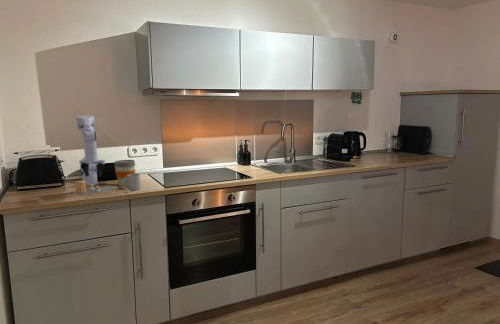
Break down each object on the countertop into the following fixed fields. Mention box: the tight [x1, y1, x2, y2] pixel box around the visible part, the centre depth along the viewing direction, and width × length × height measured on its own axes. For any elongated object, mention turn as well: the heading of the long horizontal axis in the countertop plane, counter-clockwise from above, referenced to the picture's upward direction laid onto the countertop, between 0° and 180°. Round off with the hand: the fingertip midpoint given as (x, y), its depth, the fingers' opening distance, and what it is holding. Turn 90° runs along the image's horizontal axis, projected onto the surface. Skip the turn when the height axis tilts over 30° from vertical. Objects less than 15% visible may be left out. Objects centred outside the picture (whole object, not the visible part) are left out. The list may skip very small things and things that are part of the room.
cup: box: [122, 173, 142, 192], centre depth 219 cm, size 7×10×9 cm
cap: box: [74, 180, 87, 193], centre depth 209 cm, size 5×5×6 cm
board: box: [71, 184, 119, 197], centre depth 213 cm, size 14×22×4 cm, turn 137°
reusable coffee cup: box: [114, 159, 136, 187], centre depth 233 cm, size 13×13×15 cm
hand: (93, 176), depth 209 cm, fingers open, 7 cm apart
